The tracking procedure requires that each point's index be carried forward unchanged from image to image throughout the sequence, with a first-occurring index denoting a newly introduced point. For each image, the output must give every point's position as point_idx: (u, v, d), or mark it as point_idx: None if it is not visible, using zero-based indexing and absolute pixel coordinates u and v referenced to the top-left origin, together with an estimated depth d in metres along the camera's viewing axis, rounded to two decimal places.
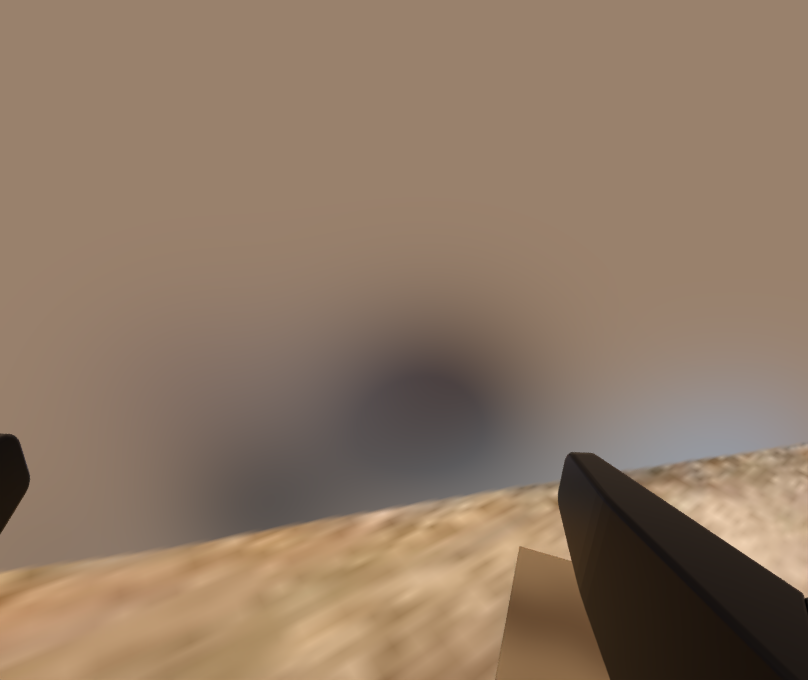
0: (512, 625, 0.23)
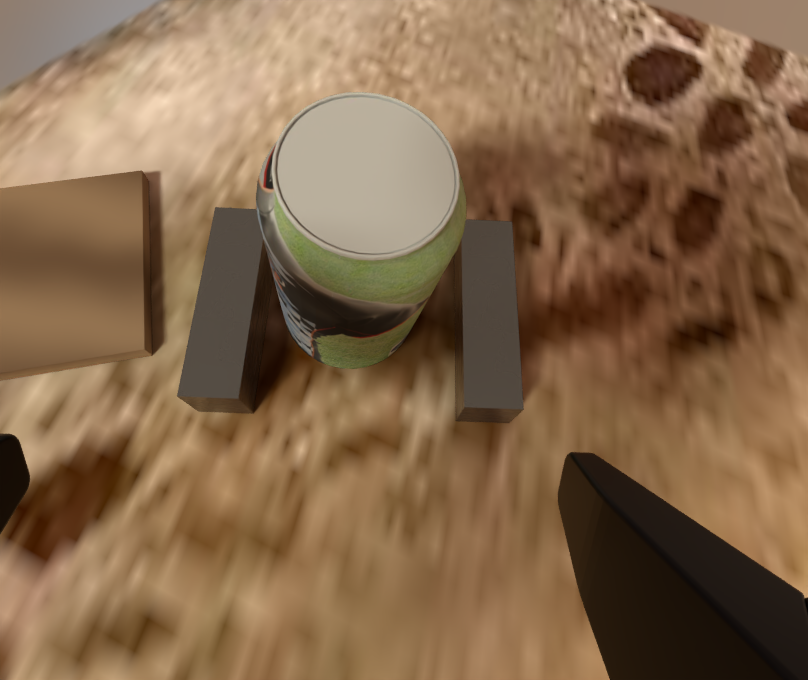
0: None
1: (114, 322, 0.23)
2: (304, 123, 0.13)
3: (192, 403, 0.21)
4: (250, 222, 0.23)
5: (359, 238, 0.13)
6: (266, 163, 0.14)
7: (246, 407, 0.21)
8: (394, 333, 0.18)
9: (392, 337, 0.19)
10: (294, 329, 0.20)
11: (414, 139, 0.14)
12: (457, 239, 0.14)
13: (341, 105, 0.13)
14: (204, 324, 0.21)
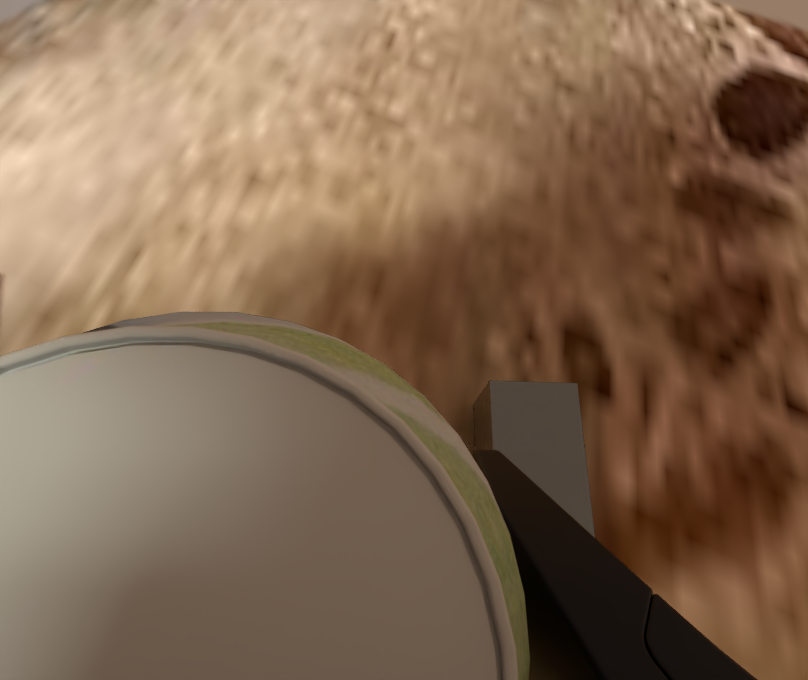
0: None
1: None
2: None
3: None
4: None
5: None
6: None
7: None
8: None
9: None
10: None
11: (332, 503, 0.04)
12: None
13: (37, 394, 0.03)
14: None
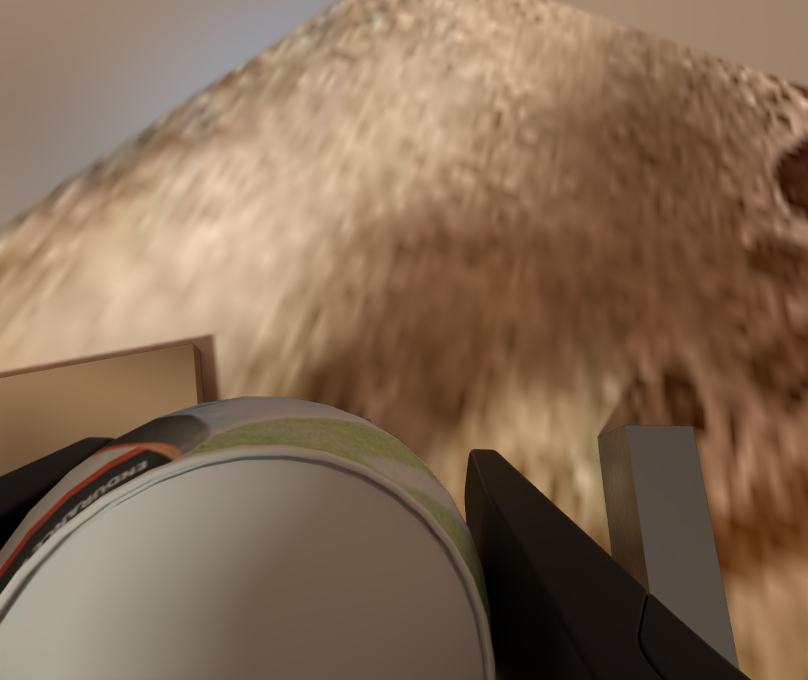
0: None
1: None
2: (55, 584, 0.04)
3: None
4: None
5: None
6: None
7: None
8: None
9: None
10: None
11: (380, 569, 0.05)
12: None
13: (176, 498, 0.05)
14: None
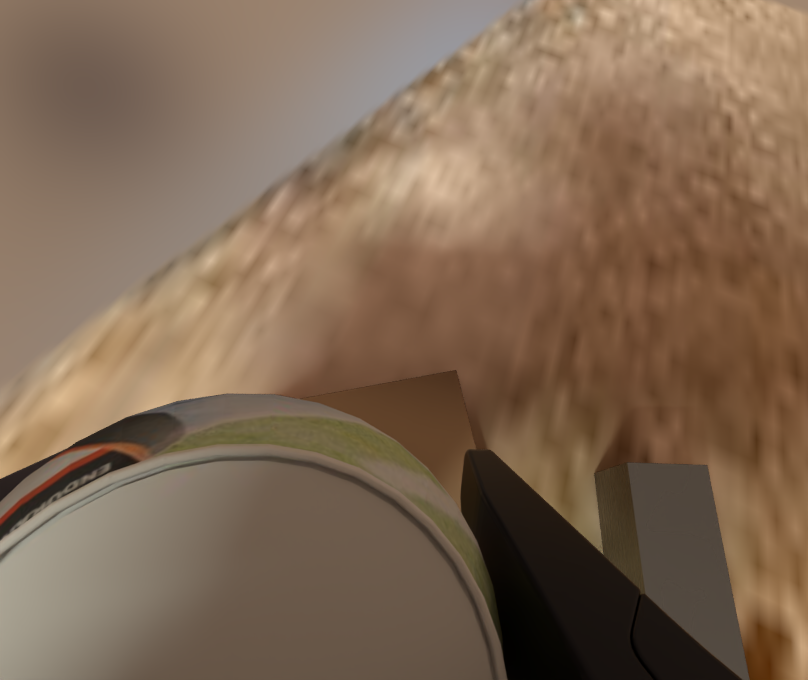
0: None
1: None
2: None
3: None
4: (688, 490, 0.15)
5: None
6: None
7: None
8: None
9: None
10: None
11: (378, 587, 0.05)
12: None
13: (141, 505, 0.04)
14: None
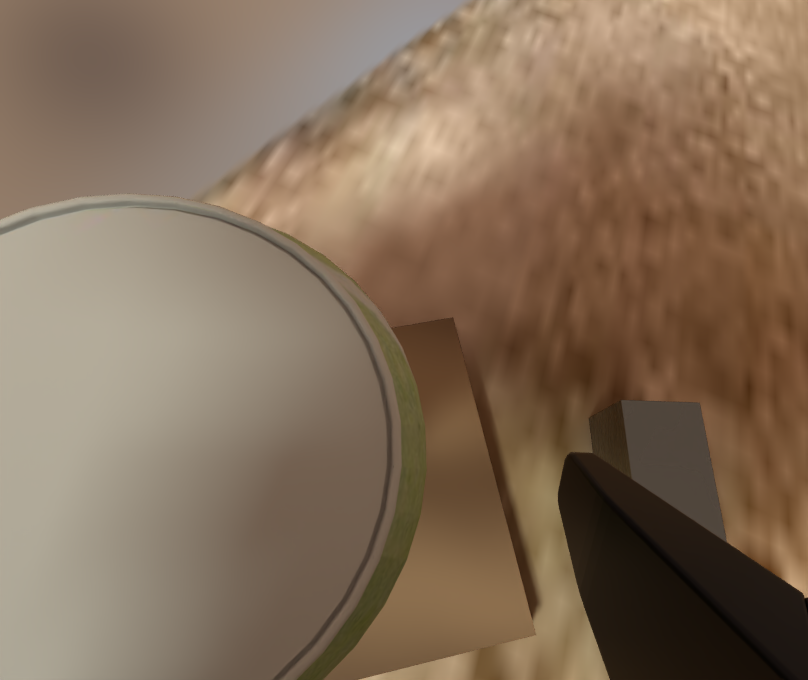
0: None
1: (478, 586, 0.15)
2: None
3: None
4: (681, 426, 0.15)
5: None
6: None
7: None
8: None
9: None
10: None
11: (275, 323, 0.05)
12: (403, 558, 0.06)
13: (60, 236, 0.05)
14: None
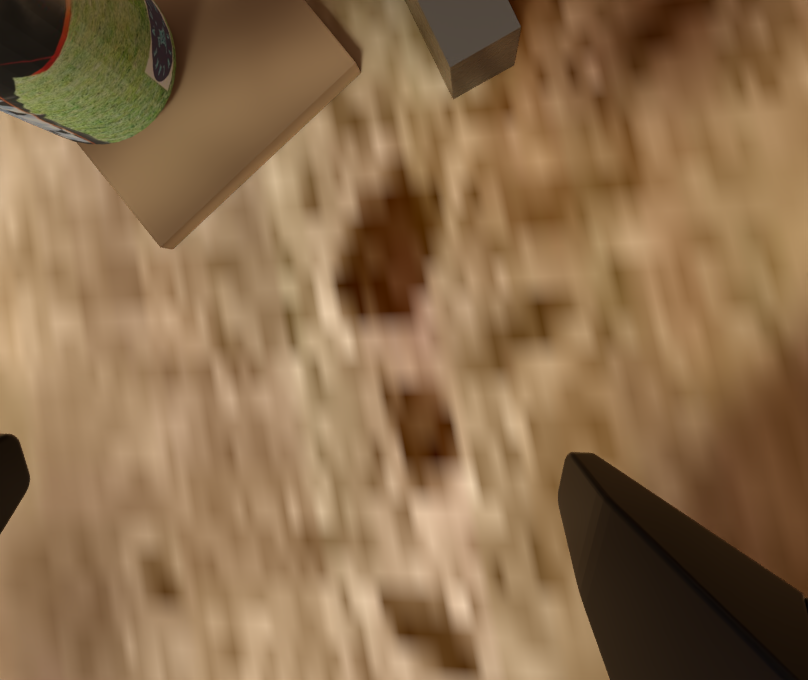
0: None
1: (301, 55, 0.18)
2: None
3: (457, 79, 0.17)
4: None
5: None
6: None
7: (515, 50, 0.17)
8: (89, 41, 0.14)
9: (102, 51, 0.14)
10: (21, 119, 0.16)
11: None
12: None
13: None
14: None
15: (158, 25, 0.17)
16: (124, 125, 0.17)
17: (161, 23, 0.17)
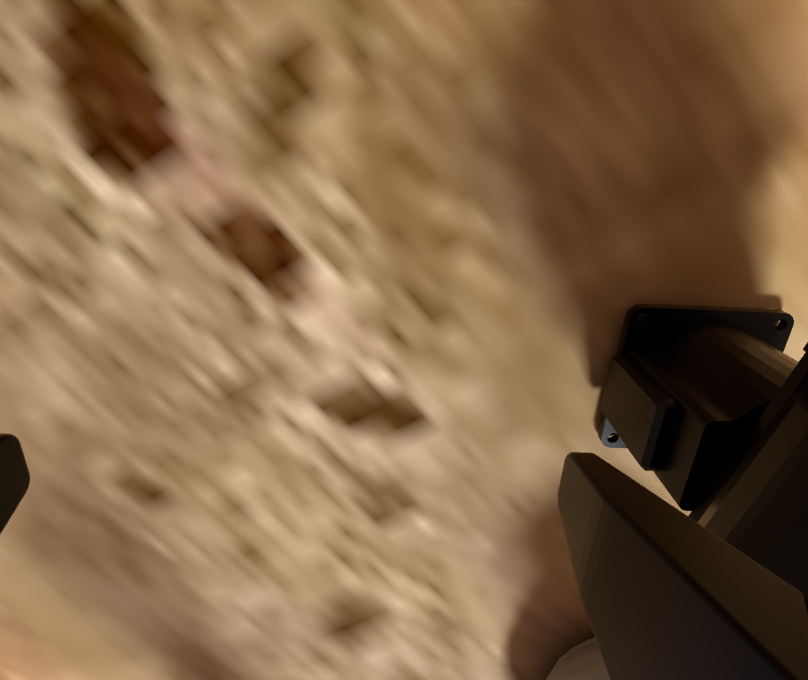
0: None
1: None
2: None
3: None
4: None
5: None
6: None
7: None
8: None
9: None
10: None
11: None
12: None
13: None
14: None
15: None
16: None
17: None
